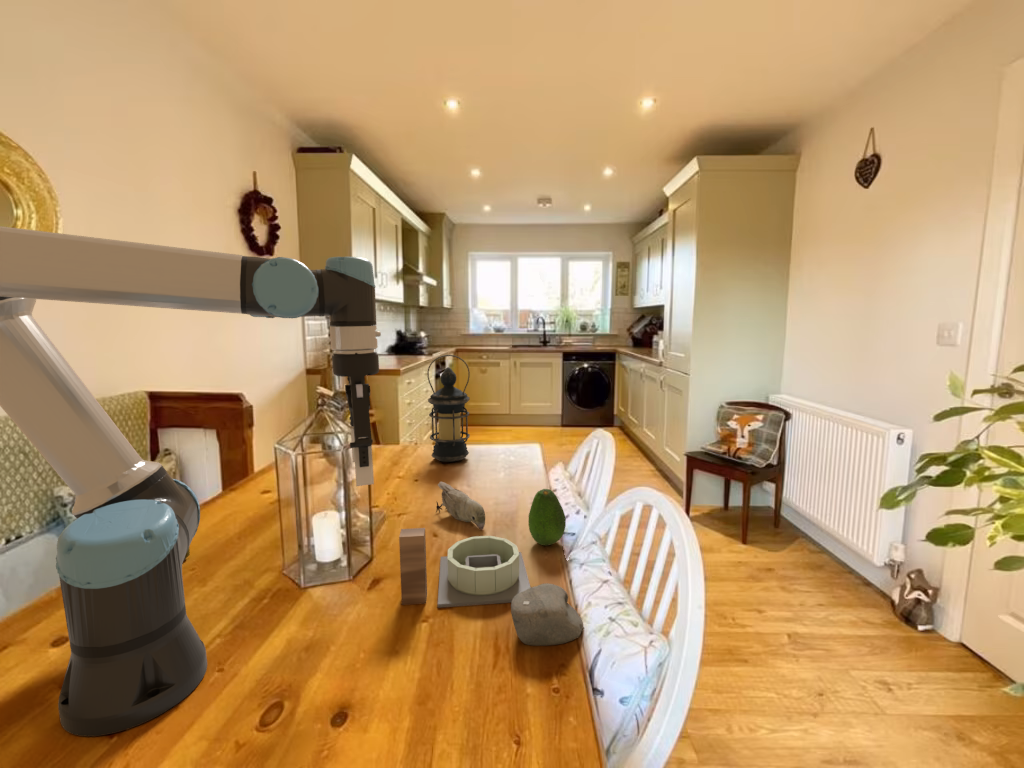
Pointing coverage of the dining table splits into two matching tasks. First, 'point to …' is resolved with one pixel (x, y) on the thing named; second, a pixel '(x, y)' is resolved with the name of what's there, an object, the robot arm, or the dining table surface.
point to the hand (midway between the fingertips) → (362, 472)
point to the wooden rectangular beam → (413, 566)
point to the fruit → (546, 518)
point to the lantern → (449, 417)
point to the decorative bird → (461, 506)
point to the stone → (545, 616)
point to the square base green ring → (481, 572)
